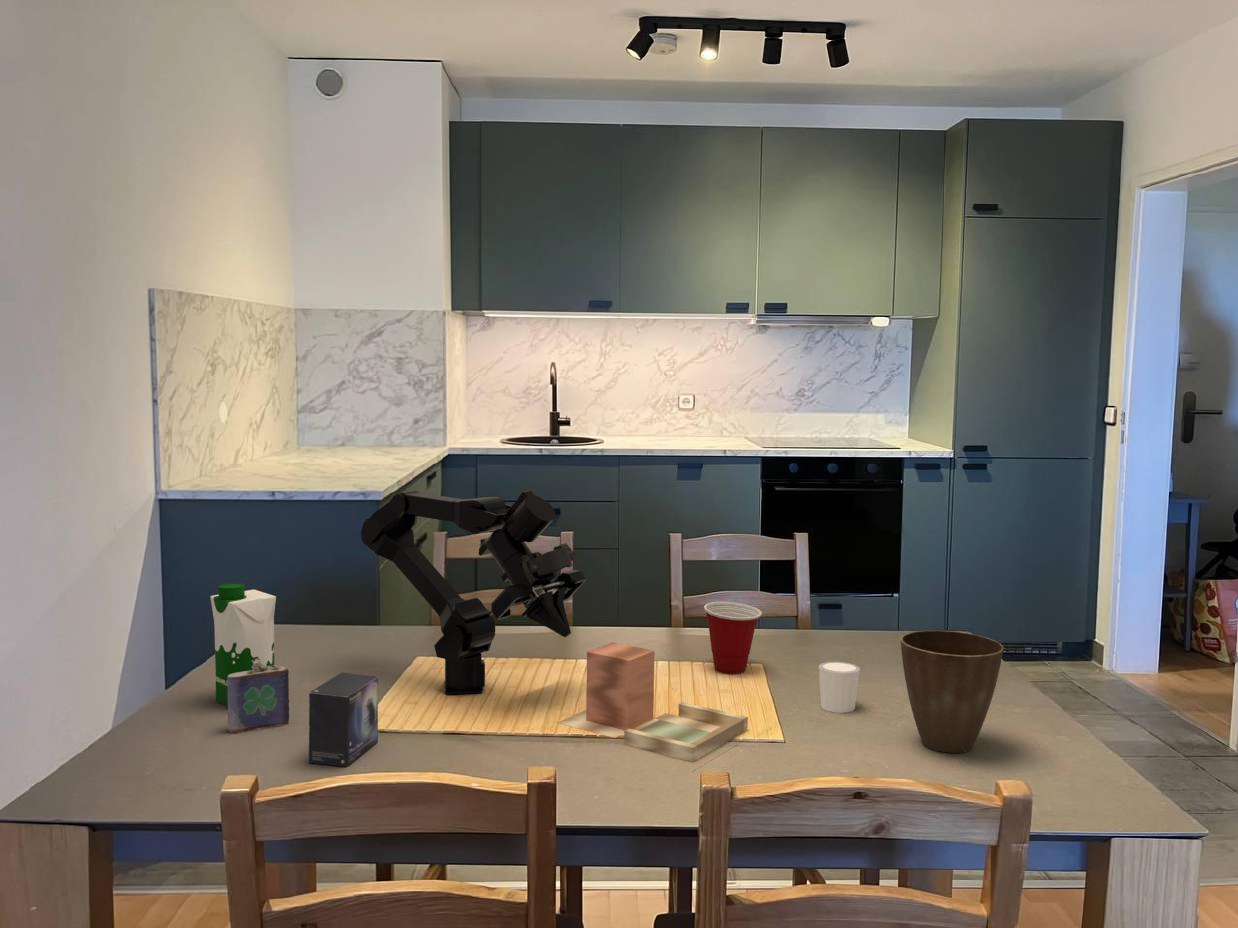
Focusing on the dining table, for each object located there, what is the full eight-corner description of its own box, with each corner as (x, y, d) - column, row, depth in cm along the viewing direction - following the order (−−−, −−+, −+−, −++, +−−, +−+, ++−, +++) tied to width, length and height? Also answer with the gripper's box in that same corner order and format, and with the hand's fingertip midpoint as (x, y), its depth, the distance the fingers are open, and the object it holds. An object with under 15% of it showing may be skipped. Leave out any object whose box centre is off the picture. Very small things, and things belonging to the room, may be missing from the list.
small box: (349, 768, 150) (348, 695, 149) (306, 764, 151) (305, 692, 150) (380, 742, 160) (380, 674, 159) (340, 738, 162) (340, 671, 161)
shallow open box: (552, 733, 165) (552, 711, 164) (613, 706, 178) (613, 686, 178) (692, 771, 150) (692, 747, 150) (747, 739, 164) (747, 716, 163)
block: (586, 720, 167) (586, 651, 166) (611, 708, 172) (612, 642, 171) (628, 731, 162) (629, 660, 161) (653, 718, 168) (654, 650, 167)
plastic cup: (745, 682, 193) (746, 617, 191) (692, 672, 198) (693, 609, 197) (769, 668, 202) (771, 605, 201) (718, 658, 207) (719, 598, 206)
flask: (229, 734, 163) (228, 665, 162) (225, 728, 165) (224, 661, 164) (291, 724, 167) (290, 658, 166) (286, 719, 170) (285, 653, 169)
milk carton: (207, 701, 178) (204, 583, 176) (258, 689, 184) (256, 575, 182) (233, 713, 172) (230, 591, 170) (284, 701, 178) (282, 583, 176)
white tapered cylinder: (862, 704, 181) (864, 664, 181) (853, 716, 175) (855, 674, 174) (822, 698, 184) (824, 658, 183) (812, 709, 178) (814, 669, 177)
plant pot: (886, 726, 170) (890, 628, 169) (980, 728, 170) (985, 630, 168) (909, 761, 156) (913, 654, 154) (1012, 764, 155) (1018, 656, 154)
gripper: (505, 536, 166) (560, 616, 161) (577, 522, 181) (630, 595, 176) (467, 579, 171) (520, 658, 166) (541, 562, 186) (591, 634, 181)
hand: (568, 635), depth 172 cm, fingers closed
